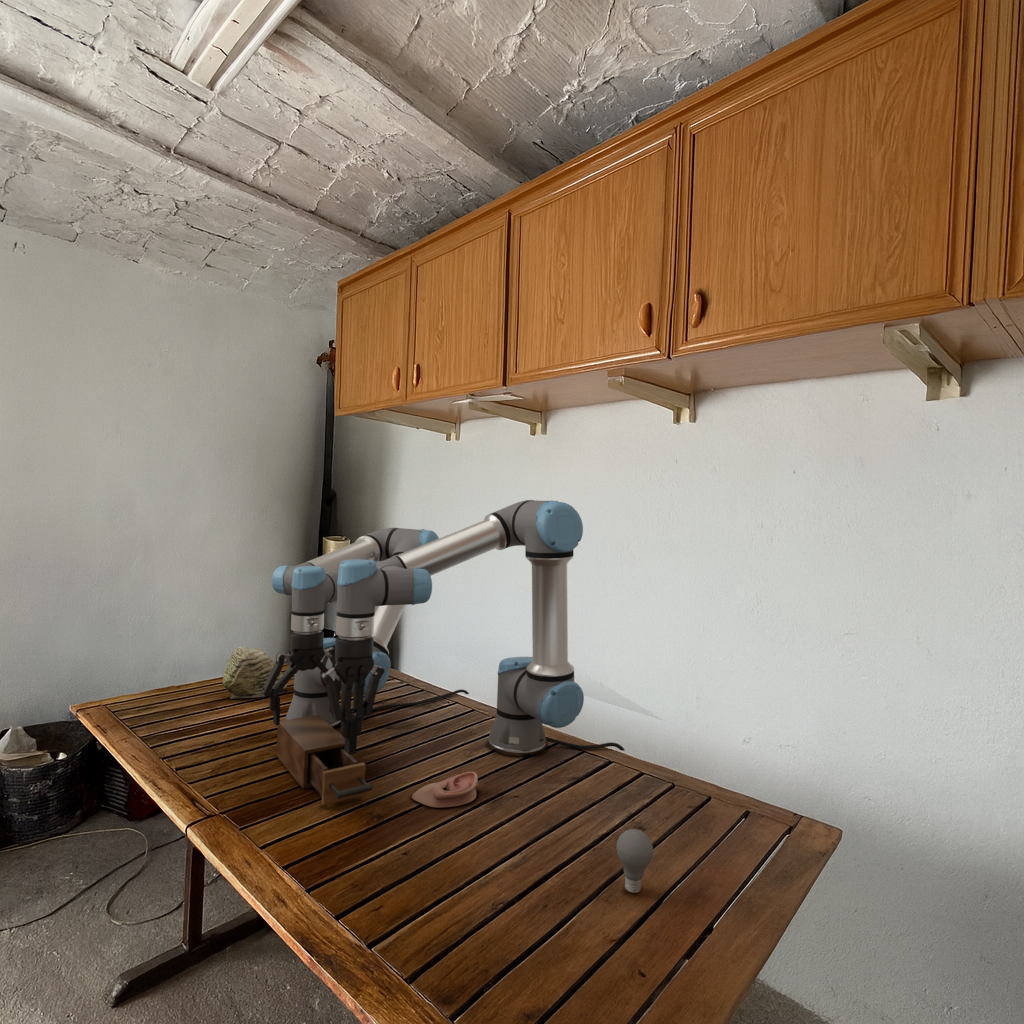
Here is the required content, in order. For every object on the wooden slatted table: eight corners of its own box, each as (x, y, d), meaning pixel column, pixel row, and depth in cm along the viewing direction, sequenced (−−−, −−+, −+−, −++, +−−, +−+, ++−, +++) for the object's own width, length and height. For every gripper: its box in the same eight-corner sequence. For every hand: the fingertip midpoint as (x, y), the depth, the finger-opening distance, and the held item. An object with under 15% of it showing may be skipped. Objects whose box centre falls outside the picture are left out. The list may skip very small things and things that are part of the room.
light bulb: (610, 879, 108) (613, 822, 108) (644, 879, 109) (647, 822, 109) (619, 902, 102) (622, 840, 102) (655, 901, 103) (658, 840, 103)
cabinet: (347, 779, 143) (349, 741, 142) (303, 789, 137) (304, 750, 137) (317, 747, 159) (318, 714, 159) (276, 755, 153) (277, 721, 153)
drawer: (375, 806, 129) (376, 774, 129) (333, 817, 124) (334, 784, 124) (331, 762, 149) (333, 734, 149) (294, 770, 144) (295, 741, 144)
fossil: (218, 695, 195) (220, 647, 195) (278, 685, 208) (279, 640, 207) (228, 703, 189) (230, 653, 188) (289, 692, 201) (290, 645, 201)
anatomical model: (407, 784, 132) (425, 763, 143) (406, 803, 132) (424, 780, 143) (468, 793, 129) (482, 770, 140) (467, 812, 129) (481, 788, 141)
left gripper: (257, 640, 142) (255, 733, 143) (362, 628, 156) (360, 713, 157) (248, 633, 148) (247, 722, 149) (351, 623, 163) (349, 704, 163)
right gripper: (329, 643, 121) (325, 765, 122) (392, 637, 129) (387, 751, 129) (316, 635, 127) (312, 751, 128) (377, 629, 135) (372, 739, 136)
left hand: (305, 718), depth 153 cm, fingers open, 13 cm apart
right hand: (350, 751), depth 129 cm, fingers closed
